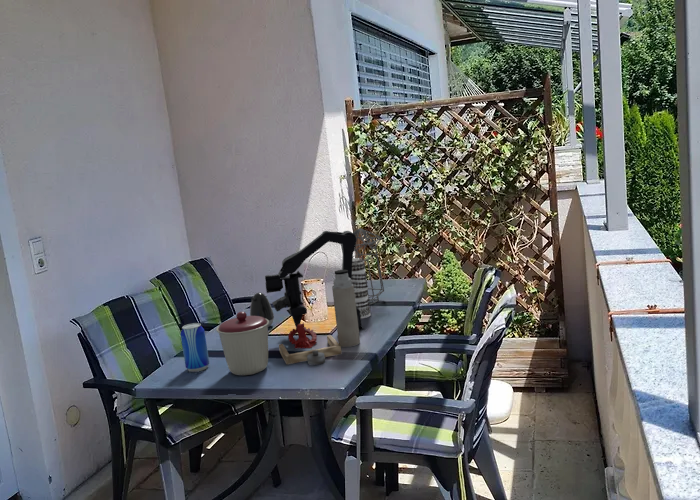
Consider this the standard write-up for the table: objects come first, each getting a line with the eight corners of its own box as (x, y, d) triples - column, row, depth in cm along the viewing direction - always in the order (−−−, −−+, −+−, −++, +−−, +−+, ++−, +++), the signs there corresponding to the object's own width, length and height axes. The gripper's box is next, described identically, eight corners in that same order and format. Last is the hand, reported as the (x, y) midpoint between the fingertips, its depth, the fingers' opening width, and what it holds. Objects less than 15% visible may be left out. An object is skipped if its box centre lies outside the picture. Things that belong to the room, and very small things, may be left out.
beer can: (188, 366, 239) (181, 324, 237) (211, 363, 240) (204, 321, 237) (184, 374, 231) (177, 330, 228) (208, 370, 231) (201, 327, 229)
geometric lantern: (390, 298, 305) (382, 225, 298) (373, 308, 292) (365, 232, 286) (361, 297, 314) (353, 225, 307) (344, 306, 301) (335, 232, 294)
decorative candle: (346, 319, 278) (340, 261, 274) (354, 313, 287) (348, 257, 283) (366, 319, 275) (360, 261, 271) (374, 312, 283) (368, 256, 279)
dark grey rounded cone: (246, 330, 278) (241, 295, 276) (260, 323, 287) (255, 289, 285) (265, 331, 274) (261, 296, 271) (279, 324, 283) (275, 289, 280)
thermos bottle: (343, 340, 250) (334, 268, 245) (362, 340, 247) (354, 267, 242) (335, 346, 242) (327, 273, 238) (356, 346, 239) (347, 272, 235)
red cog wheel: (297, 351, 242) (294, 330, 240) (285, 344, 252) (282, 323, 251) (323, 344, 247) (321, 323, 245) (310, 338, 257) (308, 317, 256)
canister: (252, 382, 215) (243, 320, 211) (212, 377, 224) (202, 318, 221) (285, 363, 230) (277, 305, 226) (246, 359, 239) (238, 303, 236)
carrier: (331, 342, 248) (330, 332, 248) (346, 359, 227) (345, 348, 227) (279, 352, 243) (278, 341, 243) (289, 370, 222) (288, 359, 222)
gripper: (269, 288, 264) (274, 325, 266) (275, 297, 246) (281, 337, 248) (296, 283, 266) (300, 320, 269) (304, 292, 248) (309, 332, 251)
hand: (297, 327), depth 259 cm, fingers closed
